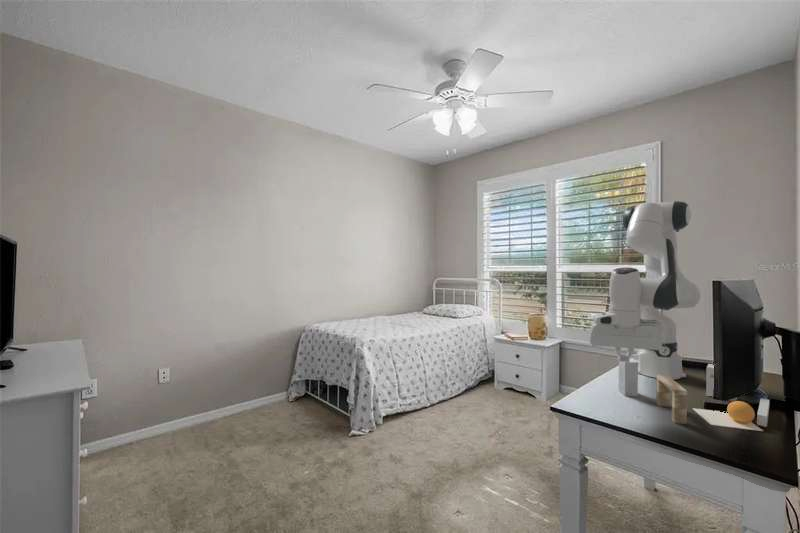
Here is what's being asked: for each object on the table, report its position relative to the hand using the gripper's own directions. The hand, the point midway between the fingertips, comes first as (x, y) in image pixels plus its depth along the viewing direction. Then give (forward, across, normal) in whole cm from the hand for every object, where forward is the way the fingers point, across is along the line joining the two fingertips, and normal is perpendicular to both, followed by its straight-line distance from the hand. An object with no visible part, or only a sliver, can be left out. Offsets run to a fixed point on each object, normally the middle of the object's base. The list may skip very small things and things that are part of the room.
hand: (623, 361), depth 118 cm
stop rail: (+15, -39, -6) cm, 42 cm away
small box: (+15, -35, -21) cm, 44 cm away
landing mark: (+15, -27, 0) cm, 31 cm away
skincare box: (+15, -5, -15) cm, 22 cm away
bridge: (+15, -13, 0) cm, 20 cm away
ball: (+12, -30, +1) cm, 33 cm away
